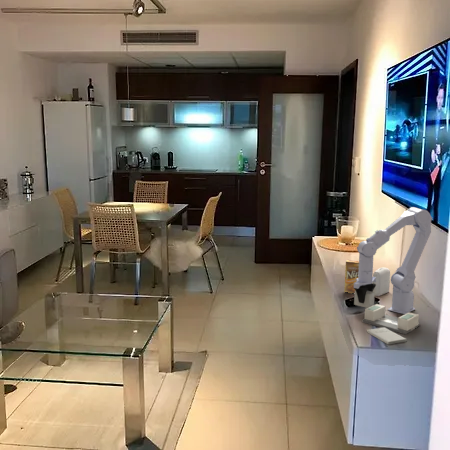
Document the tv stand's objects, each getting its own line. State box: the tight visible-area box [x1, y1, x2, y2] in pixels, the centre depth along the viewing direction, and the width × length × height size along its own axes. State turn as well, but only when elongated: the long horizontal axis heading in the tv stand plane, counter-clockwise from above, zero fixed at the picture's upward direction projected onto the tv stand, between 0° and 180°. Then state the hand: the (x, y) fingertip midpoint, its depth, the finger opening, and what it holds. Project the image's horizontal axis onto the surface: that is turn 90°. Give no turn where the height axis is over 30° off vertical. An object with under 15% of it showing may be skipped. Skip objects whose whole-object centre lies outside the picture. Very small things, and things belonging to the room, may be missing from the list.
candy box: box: [343, 259, 359, 294], centre depth 239 cm, size 9×4×15 cm, turn 64°
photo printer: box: [373, 267, 391, 297], centre depth 239 cm, size 10×4×12 cm, turn 133°
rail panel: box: [362, 303, 421, 335], centre depth 200 cm, size 12×18×5 cm, turn 44°
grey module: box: [353, 291, 375, 309], centre depth 213 cm, size 4×7×6 cm, turn 44°
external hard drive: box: [366, 327, 408, 345], centre depth 188 cm, size 2×8×12 cm
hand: (364, 301), depth 213 cm, fingers closed on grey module, 4 cm apart
